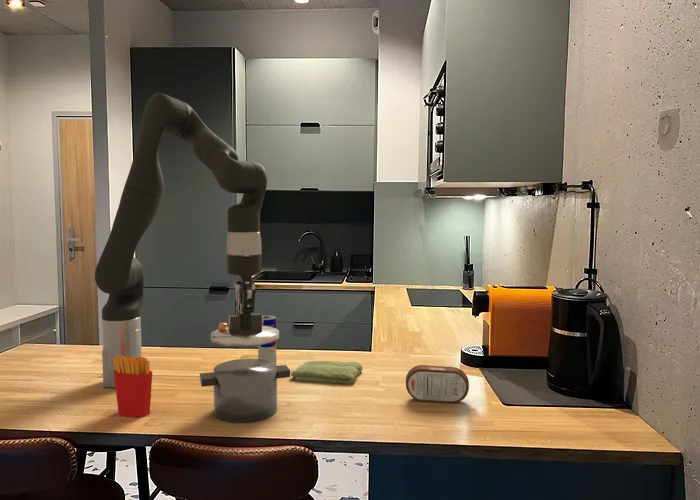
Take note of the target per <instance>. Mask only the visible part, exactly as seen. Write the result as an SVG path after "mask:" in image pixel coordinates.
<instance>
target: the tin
mask: <svg viewBox="0 0 700 500" xmlns="http://www.w3.org/2000/svg"><path fill="white" fill-rule="evenodd" d="M405 387H406V391H407V393H408V394H409V396H410V397H411V398H413V399H414V400H417V401H419V402H429V403H441V404H443V403H444V404H457V403H460V402H461V401H463V400H464V399H465V398H466V397H467V396H468V393H469V389H470V382H469V378H468V376H467V374H466V373H465V372H464V371H463V370H461V369H460V368H458V367H455V366H444V365H443V366H442V365H429V364H426V365H425V364H424V365H423V364H420V365H416V366H414V367H412V368H410V370H408V372H407V374H406V377H405Z"/></svg>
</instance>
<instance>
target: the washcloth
mask: <svg viewBox="0 0 700 500" xmlns="http://www.w3.org/2000/svg"><path fill="white" fill-rule="evenodd" d="M362 371H363V366H362V364H361V363H360V362H358V361H347V362H345V361H339V360H338V361H333V360H332V361H330V360H308V361H305V362H304V363H303V364H299V365H298V366H296V369H294V370H291V371H290V377H293V378H294V379H295V381H296V382H310V383H311V382H313V383H324V384H325V383H326V384H343V385H344V384H345V385H352V384H354V382H355V380H357V377H358V376H359V375H360V373H362Z"/></svg>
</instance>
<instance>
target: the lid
mask: <svg viewBox="0 0 700 500" xmlns="http://www.w3.org/2000/svg"><path fill="white" fill-rule="evenodd" d="M262 316H263V315H262V313H260V312H253V313H252V314H251V324H252V329H251V330H250V331H242V330H241V314H239V313H238V314H228V323H227V322H219V323H218V329H215V330H213V331H212V332H210V341H211V342H212V343H213V344H215V345H216V344H217V345H220V346H225V347H226V346H227V347H253V346H254V347H257V346H258V345H263V344H267V343H271V342H274V341H276V342H277V340H279V338H280V330H279V329H278V328H277V327H276V328H273V327H269V326H262Z"/></svg>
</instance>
